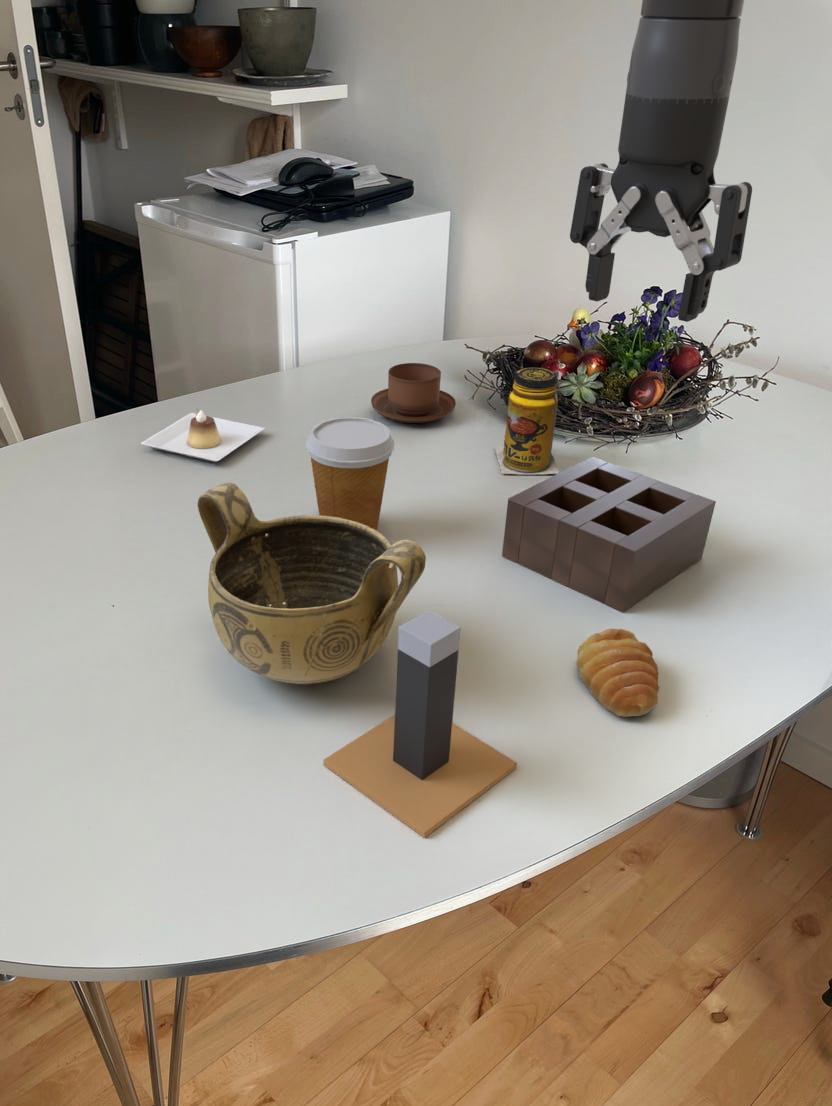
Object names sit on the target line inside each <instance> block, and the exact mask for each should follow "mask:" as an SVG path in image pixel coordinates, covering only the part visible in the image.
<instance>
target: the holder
mask: <svg viewBox="0 0 832 1106" xmlns="http://www.w3.org/2000/svg"><path fill="white" fill-rule="evenodd" d="M716 502H717V501H716V500H713V499H711V498H708V497H706V496H702V495H700V494H696V493H695V492H694V493H693V492H691V491H689V490H685V489H682V488H680V487H677V486H674V485H672V484H669V483H667V482H664V481H660V480H658V479H656V478H653V477H650V476H647V475H645V474H642V473H638V472H636V471H633V470H631V469H627V468H625V467H623V466H620V465H616V464H614V463H611V462H608V461H605V460H603V459H600V458H597V457H594V456H591V457H589V458H587V459H585V460H583V461H580V462H579V463H577V464H575V465H572V466H571V467H569V468H566V469H564V470H563V471H560V473H559V474H554V475H553V476H551V477H548V478H547V479H544V480H543V481H541V482H539V483H536V484H535V485H532V486H531V487H528V488H527V489H525V490H522V491H520V492H519V493H516V494H514V495H512V496H510V497H509V498H507V505H506V516H505V523H504V534H503V541H502V551H501V557H503V558H504V559H507V560H508V561H511V562H513V563H515V564H518V565H520V566H522V567H525V568H527V569H528V570H531V571H533V572H535V573H537V574H539V575H542V576H543V577H545V578H548V579H550V580H551V581H554V582H556V583H558V584H560V585H563V586H565V587H567V588H569V589H571V590H574V591H576V592H578V593H581V595H584V596H587V597H589V598H591V599H592V600H593V599H594V600H595V601H598V602H599V603H601V604H604V605H606V606H608V607H610V608H612V609H614V610H616V611H619V612H620V613H625V612H626V611H627V610H629V609H630V608H632V607H633V606H635V605H637V604H638V603H639V602H641V601H642V600H644V599H645V598H647V597H649V595H652V593H655V591H657V590H659V589H660V588H661V587H663V586H664V585H666V584H668V583H669V582H670V581H672V580H673V579H675V578H676V577H677V576H678V577H679V575H681V574H682V573H684V572H685V571H686V570H688V569H689V568H691V567H692V566H693V565H696V564H697V563H698V562H700V561H701V560H702V559H703V555H704V552H705V551H704V550H705V547H706V543H707V539H708V535H709V532H710V527H711V524H712V520H713V515H714V511H715V508H716Z"/></svg>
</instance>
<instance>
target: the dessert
mask: <svg viewBox="0 0 832 1106" xmlns="http://www.w3.org/2000/svg"><path fill="white" fill-rule="evenodd" d="M196 411H197V413H195V412H189V413H188V414H186V415H185V416H183V417H181V418H179V419H178V420H176V421H175V422H173V423H171V424H170V425H168V426H166V427H164V428H163V429H162V430H160V431H158V432H156V433H154V434H153V435H152V436H149V437H148V438H147V439H145V440H143V441H141V442H140V445H143V446H146V447H148V448H153V449H154V450H159V451H163V452H168V453H171V454H176V455H181V456H185V457H189V458H193V459H197V460H198V459H199V460H203V461H207V462H212V463H217V462H219V461H220V460H222V459H224V458H225V457H226V456H227V455H229V454H230V453H232V452H234V451H235V450H237V449H238V448H239V447H241V446H242V445H245V443H247V442H248V441H249V440H251V439H252V438H254V437H255V436H257V435H258V434H260V433H261V432H262V431H264V430H265V429H266V427H264V426H258V425H252V424H249V423H243V422H238V421H235V420H234V421H233V420H229V419H224V418H220V417H214V416H210V415H206V413H205V412H204V411H203V409H200V411H199V410H198V409H196Z"/></svg>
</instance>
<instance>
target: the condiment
mask: <svg viewBox="0 0 832 1106" xmlns="http://www.w3.org/2000/svg"><path fill="white" fill-rule="evenodd" d="M557 384H558V375H557V373H556V372H555V371H554V370H551V369H548V368H544V367H537V366H535V367H532V366H531V367H523V368H521V369H519V370H517V371H516V372H515V373H514V376H513V384H512V389H513V390H512V391H511V392H510V394H509V396H508V405H507V415H506V419H505V420H506V425H505V432H504V440H503V446H494V451H495V454H496V458H497V462H498V465H499V468H500V473H501V474H503V475H527V476H528V475H529V476H530V475H548V474H549V475H557V474H559V473H561V471H559V468H558V466H557V463H556V461H555V458H554V456H553V453H552V451H553V444H554V435H555V429H556V428H555V427H556V420H557V412H558V405H559V404H558V403H559V397H558V395H557V393H556V392H557V390H558V386H557Z"/></svg>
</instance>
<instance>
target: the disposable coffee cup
mask: <svg viewBox="0 0 832 1106" xmlns="http://www.w3.org/2000/svg"><path fill="white" fill-rule="evenodd" d="M305 448H306V451H307V453H308V456H309V457H310V464H311V468H312V469H311V470H312V476H313V483H314V489H315V497H316V503H317V508H318V515H319V516H331V517H339V518H343V519H347V520H351V521H355V522H358V523H361V524H364V525H366V526H369V527H370V528H372V529H375V530H376V531H378V527H379V521H380V515H381V509H382V504H383V497H384V491H385V487H386V486H385V485H386V480H387V473H388V466H389V461H390V457H391V456H392V453H393V451H394V449H395V441H394V439H393V438H392V433H391V430H390V428H389V427H388V426H387V425H385V424H384V423H382V422H379V421H377V420H374V419H370V418H366V417H359V416H342V417H341V416H340V417H332V418H327V419H325V420H323V421H319V422H317V423H316V424H314V425H313V426H312V427H311V428H310V430H309V434H308V437H307V439H306V440H305Z"/></svg>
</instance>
